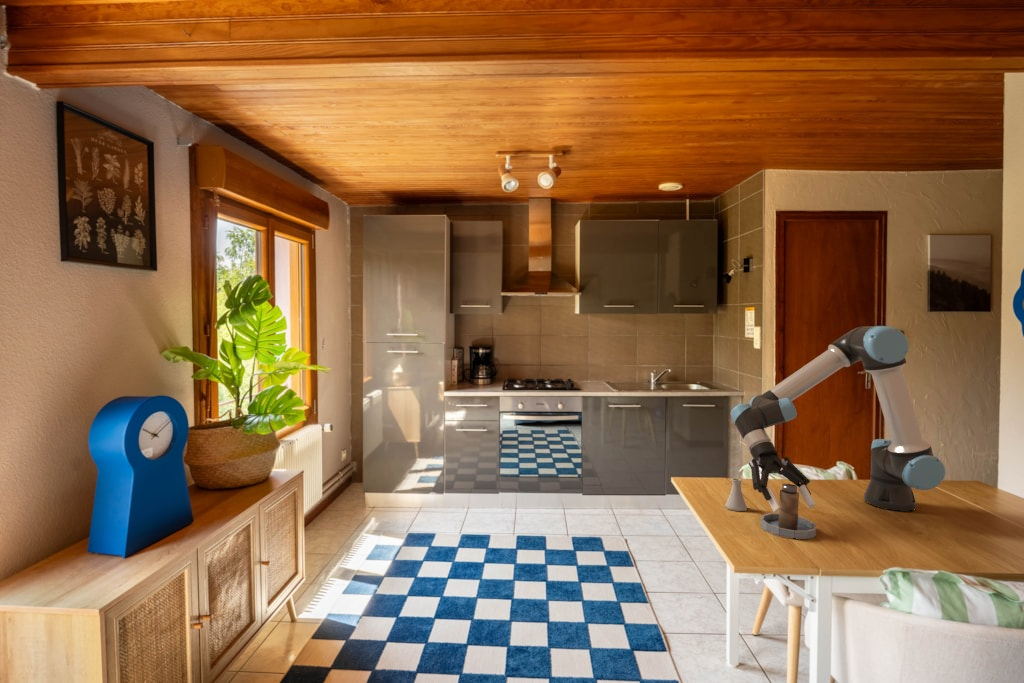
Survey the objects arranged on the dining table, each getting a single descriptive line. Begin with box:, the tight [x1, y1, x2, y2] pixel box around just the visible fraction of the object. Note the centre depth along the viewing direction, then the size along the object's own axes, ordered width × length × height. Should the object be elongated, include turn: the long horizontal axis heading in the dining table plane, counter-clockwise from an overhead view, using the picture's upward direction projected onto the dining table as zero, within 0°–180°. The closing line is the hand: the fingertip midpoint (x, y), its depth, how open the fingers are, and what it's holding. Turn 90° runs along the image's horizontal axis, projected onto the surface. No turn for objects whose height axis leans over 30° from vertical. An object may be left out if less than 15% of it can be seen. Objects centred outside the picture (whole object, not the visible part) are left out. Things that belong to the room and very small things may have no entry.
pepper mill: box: [778, 483, 800, 530], centre depth 164 cm, size 5×5×13 cm
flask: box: [724, 477, 748, 512], centre depth 183 cm, size 7×7×10 cm
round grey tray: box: [760, 512, 817, 540], centre depth 164 cm, size 15×15×2 cm
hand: (795, 508), depth 161 cm, fingers open, 12 cm apart
